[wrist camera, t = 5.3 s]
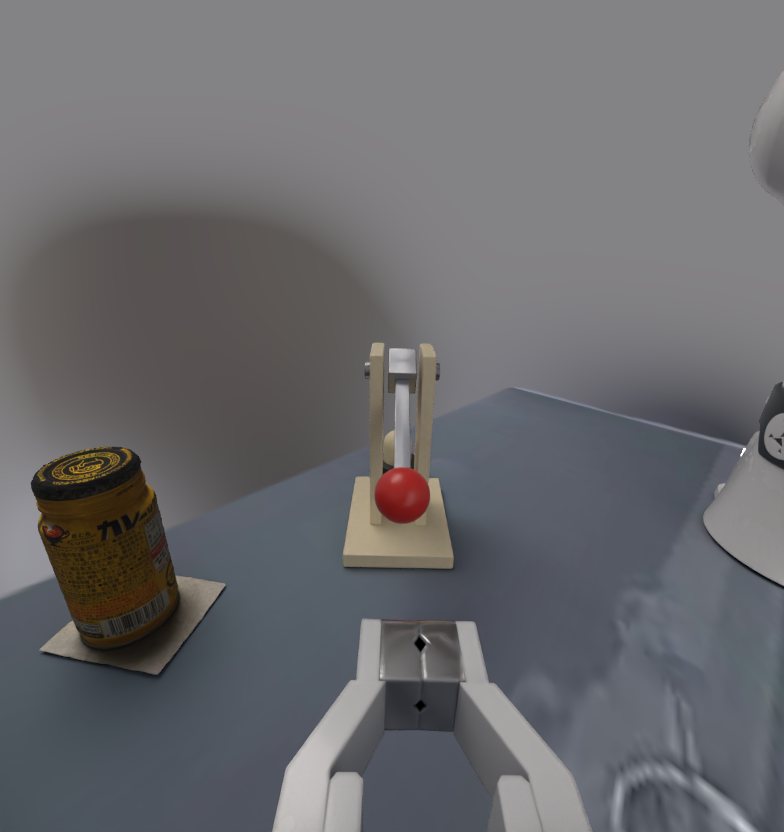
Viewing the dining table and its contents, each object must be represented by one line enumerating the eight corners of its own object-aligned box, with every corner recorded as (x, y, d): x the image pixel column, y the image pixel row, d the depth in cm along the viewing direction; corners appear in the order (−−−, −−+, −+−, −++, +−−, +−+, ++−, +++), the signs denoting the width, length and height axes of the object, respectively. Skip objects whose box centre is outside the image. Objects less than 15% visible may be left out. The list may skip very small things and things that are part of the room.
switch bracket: (452, 569, 32) (473, 371, 26) (343, 567, 32) (336, 368, 26) (437, 488, 44) (449, 335, 37) (355, 486, 43) (353, 333, 37)
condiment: (129, 569, 32) (88, 434, 27) (226, 585, 30) (200, 446, 26) (40, 652, 25) (-35, 492, 20) (158, 679, 24) (107, 513, 19)
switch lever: (428, 532, 26) (434, 510, 23) (373, 531, 26) (372, 508, 23) (421, 374, 34) (425, 342, 32) (380, 373, 34) (380, 341, 32)
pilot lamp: (416, 463, 48) (418, 423, 46) (418, 484, 44) (420, 441, 42) (377, 462, 48) (377, 422, 46) (375, 483, 44) (375, 440, 42)
